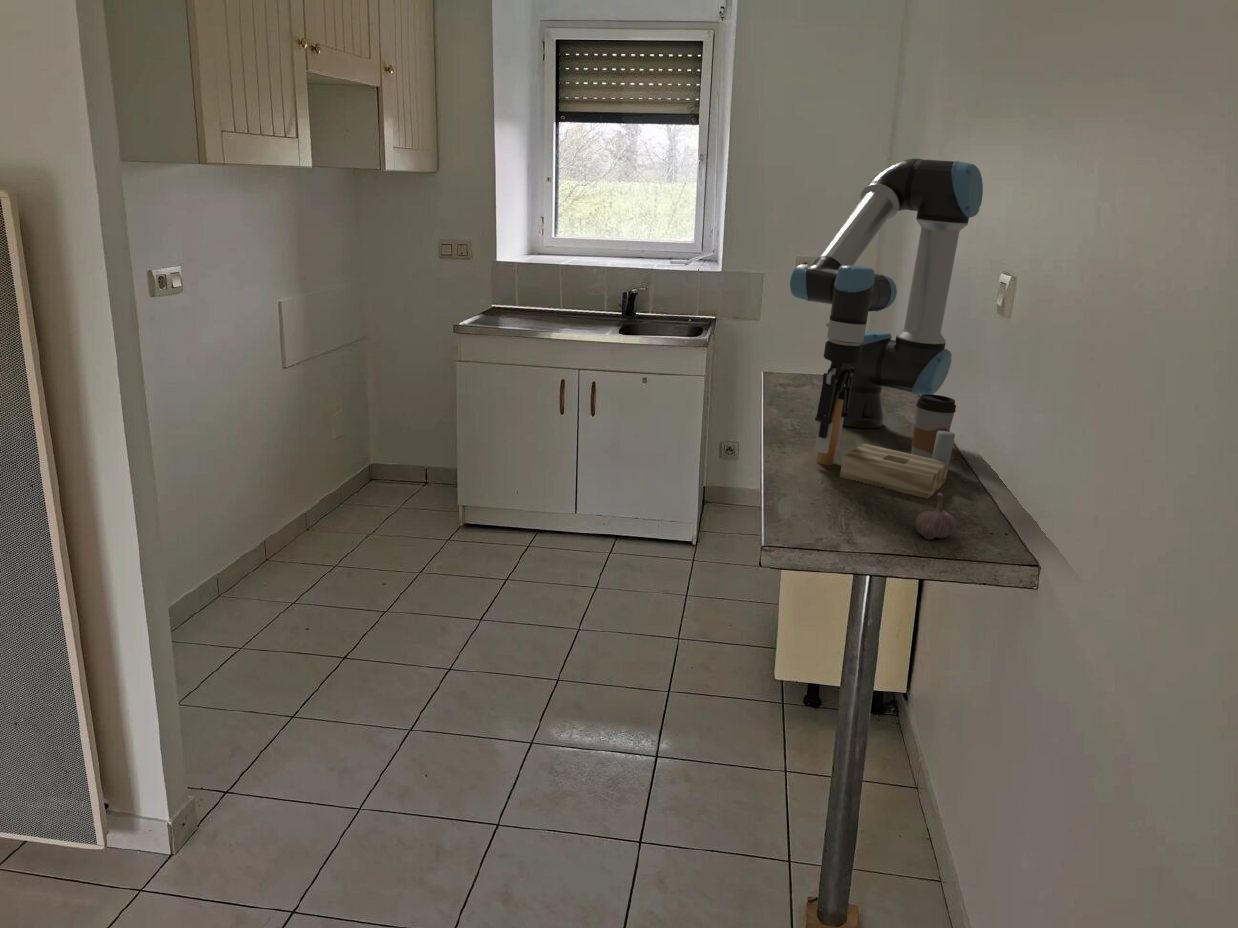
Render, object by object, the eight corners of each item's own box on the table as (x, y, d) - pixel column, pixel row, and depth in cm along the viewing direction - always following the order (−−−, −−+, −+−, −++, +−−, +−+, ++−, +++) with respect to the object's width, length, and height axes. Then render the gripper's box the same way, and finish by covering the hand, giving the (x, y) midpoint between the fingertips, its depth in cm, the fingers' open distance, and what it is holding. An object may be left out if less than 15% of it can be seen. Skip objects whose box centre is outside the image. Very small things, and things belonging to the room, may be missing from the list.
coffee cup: (928, 457, 218) (940, 393, 214) (952, 469, 211) (966, 402, 206) (897, 458, 215) (910, 393, 211) (921, 470, 208) (934, 402, 203)
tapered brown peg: (819, 459, 208) (829, 396, 204) (835, 463, 206) (846, 399, 202) (813, 462, 205) (824, 399, 201) (829, 466, 203) (840, 402, 199)
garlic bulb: (923, 543, 163) (932, 499, 161) (903, 527, 170) (911, 485, 168) (963, 544, 165) (972, 500, 163) (942, 528, 172) (951, 486, 169)
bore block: (860, 463, 208) (863, 443, 207) (944, 483, 200) (948, 462, 198) (839, 477, 196) (843, 456, 195) (927, 498, 188) (932, 477, 187)
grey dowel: (930, 475, 204) (939, 429, 202) (947, 479, 203) (956, 433, 200) (926, 478, 201) (935, 432, 199) (943, 482, 200) (953, 436, 197)
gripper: (842, 334, 208) (825, 436, 215) (811, 343, 192) (794, 453, 199) (875, 340, 205) (857, 444, 211) (847, 350, 188) (828, 461, 195)
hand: (826, 448), depth 205 cm, fingers open, 6 cm apart
